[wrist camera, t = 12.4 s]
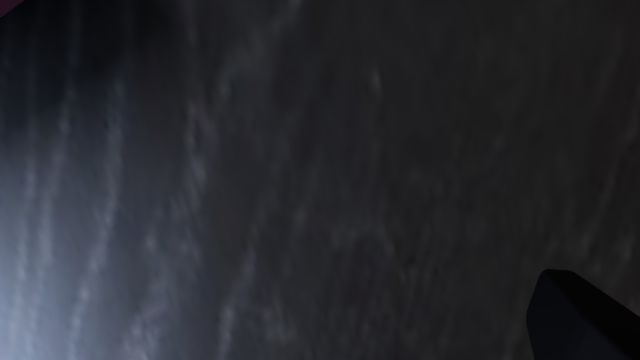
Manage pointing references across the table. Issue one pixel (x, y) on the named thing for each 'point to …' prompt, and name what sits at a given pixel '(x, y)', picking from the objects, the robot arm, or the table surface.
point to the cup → (8, 6)
